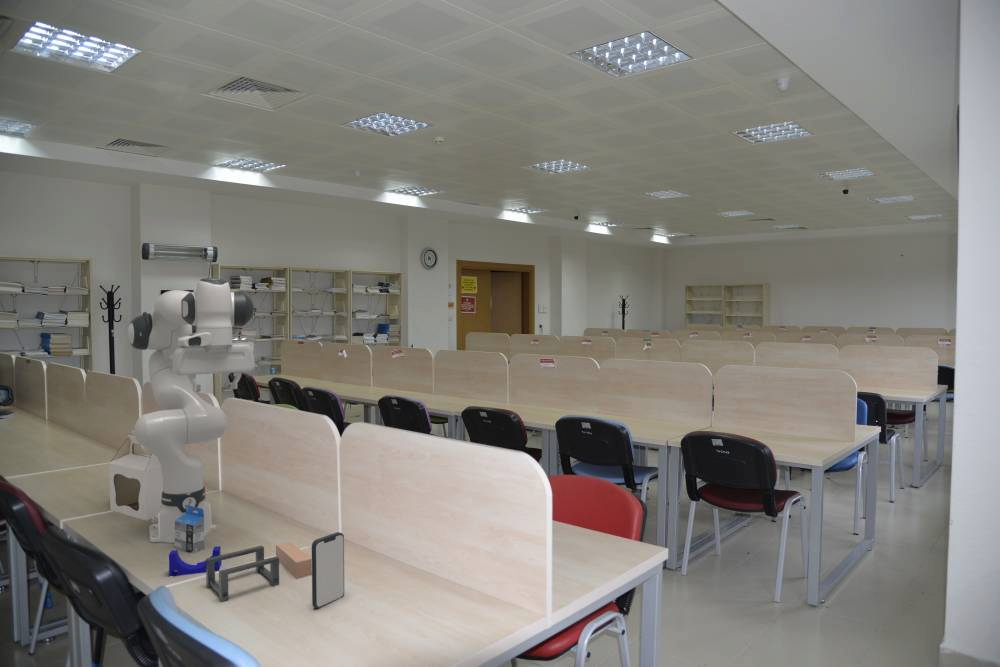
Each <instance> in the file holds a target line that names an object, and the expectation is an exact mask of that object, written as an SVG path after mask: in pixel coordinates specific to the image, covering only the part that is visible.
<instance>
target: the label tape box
mask: <svg viewBox="0 0 1000 667" xmlns="http://www.w3.org/2000/svg"><path fill="white" fill-rule="evenodd" d="M185 508H186V513H185V514H184V515H182V516H181V517H180V518H178V519H177V520H175V540H174V543H173V544H174V546H173V547H174V549H175V550H180V551H183V552H186V553H190V554H195V553H198V552H200V551H202V550H205V536H204V511H203V509H202V508H198V507H194V506H189V505H185ZM192 510H195V511H198V513H195V512H192Z"/></svg>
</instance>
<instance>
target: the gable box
mask: <svg viewBox="0 0 1000 667" xmlns="http://www.w3.org/2000/svg"><path fill="white" fill-rule="evenodd" d="M127 436H128V438H127V439H126V440H125V441H124V442H123V444H122V445H121V446H120V448H119V449H118V450H117V452H116V453H115V455H114V456H113V458H112V459H111V461H110V462H109V466H108V467H109V498H110V499H109V501H110V502H109V507H110V508H109V510H110V511H114V512H116V513H120V514H123V515H127V516H129V517H133V518H135V519H139V520H143V521H149V520H151V515H157V510H158V509H159V507H160V506H161V504H162V503H161V495H162V491H163V475H162V468H161V464H160V462H159V460H158V458H157V457H156V456H155V455H154V454H153V453H152V452H151V455H148V454H147V453H146V451H145V450H144V447H143V446H142V445H141V444H139V442H138V441H137V439H136V437H135V433H134V429H133V430H131V433H127ZM135 503H138V510H136V509H134V508H133V507H131V506H130V505H132V504H135Z"/></svg>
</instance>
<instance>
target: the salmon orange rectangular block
mask: <svg viewBox="0 0 1000 667" xmlns="http://www.w3.org/2000/svg"><path fill="white" fill-rule="evenodd" d="M276 556H277V557H278V558H279V564H280V565H281V566H283V568H285V570H287V572H288V573H289V574H291V576H292V577H294V578H295V579H296V580H298V579H303V578H305V577H308V576H312V557H310V556H308V555H307V553H305V552H304V551H303V550H301V549H300V548H299V547H298V546H296V545H295V544H294V543H293V542H291V541H286V542H283V543H278V544H275V557H276Z"/></svg>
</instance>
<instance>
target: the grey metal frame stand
mask: <svg viewBox="0 0 1000 667" xmlns="http://www.w3.org/2000/svg"><path fill="white" fill-rule="evenodd" d="M254 553H255V561H254V562H249V563H243V564H241V565H237V566H233V567H229V568H224V569H221V570H220V569H219V571H218V582H217V581H216V571H215V570H216V567H215V562H217V561H221V560H222V561H225V560H229V559H234V558H237V557H241V556H245V555H249V554H250V555H251V554H254ZM210 557H211V556H210ZM205 560H206V572H205V578H206V579H205V580H206V581H205V583H206V584H205V585H206V586H205V587H206V588H208V589H210V588H213V589H214V590H215V591H216V593H218V596H219V597H218V598H219V599H218V600H219V602H221V603H222V602H226V601H229V575H231V574H234V573H238V572H239V573H240V572H243V571H246V570H250V569H255V572H256V573H257V574H262V575H264V576H265V577H266V578H267V579H269V580H270V586H272V587H276V586H279V585H280V562H279V558H278V557H277V556H276V555H275V556H272V557H269V558H265V547H264V546H263V545H258V546H257V545H256V546H253V547H249V548H246V549H241V550H238V551H237V550H236V551H233V552H228V553H224V554H221V555H220V556H215V557H211V558H209V557H207V558H205ZM269 564H270V565H269ZM266 565H269V566H270V567H269V568H270V569H267V568H266V567H265V566H266Z"/></svg>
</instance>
